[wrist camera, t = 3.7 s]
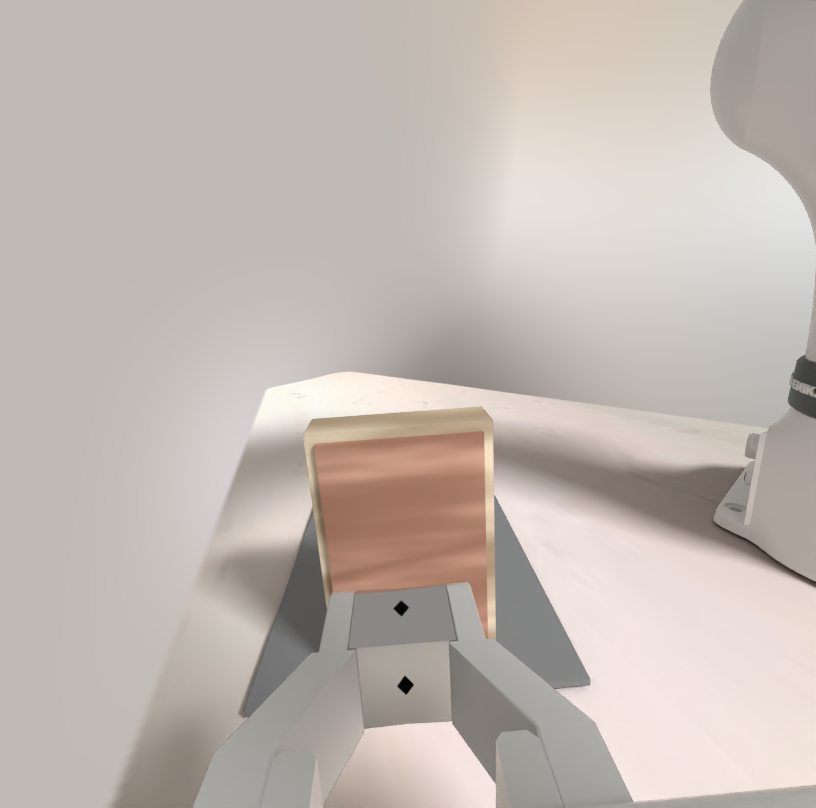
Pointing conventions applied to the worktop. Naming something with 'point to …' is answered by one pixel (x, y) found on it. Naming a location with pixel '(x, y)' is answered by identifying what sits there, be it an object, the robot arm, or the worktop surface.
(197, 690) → the worktop surface
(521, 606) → the rubber mat
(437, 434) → the flat wooden block
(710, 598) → the worktop surface
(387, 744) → the worktop surface
